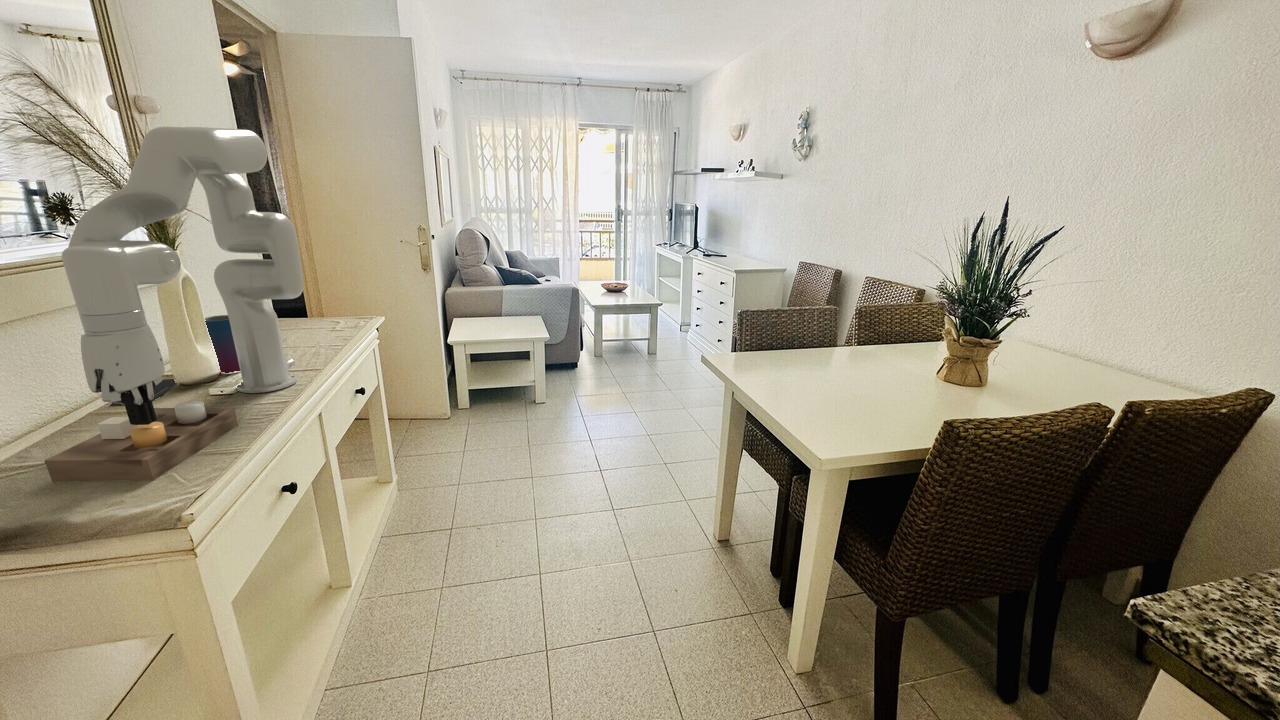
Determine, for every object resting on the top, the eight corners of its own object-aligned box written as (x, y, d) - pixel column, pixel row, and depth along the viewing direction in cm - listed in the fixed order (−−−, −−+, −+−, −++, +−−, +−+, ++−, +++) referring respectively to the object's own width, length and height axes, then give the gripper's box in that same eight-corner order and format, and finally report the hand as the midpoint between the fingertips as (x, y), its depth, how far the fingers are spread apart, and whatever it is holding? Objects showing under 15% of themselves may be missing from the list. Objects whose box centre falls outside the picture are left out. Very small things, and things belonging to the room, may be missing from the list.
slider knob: (116, 431, 96) (112, 417, 95) (137, 431, 96) (133, 416, 95) (102, 439, 93) (97, 423, 92) (123, 438, 93) (118, 423, 92)
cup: (243, 366, 144) (231, 313, 139) (250, 371, 140) (238, 317, 135) (212, 371, 139) (199, 317, 134) (219, 377, 135) (206, 322, 130)
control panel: (157, 425, 108) (152, 407, 106) (238, 425, 109) (234, 407, 108) (52, 481, 87) (44, 460, 86) (153, 480, 88) (147, 458, 87)
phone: (108, 402, 116) (148, 380, 130) (110, 407, 117) (149, 384, 130) (151, 399, 118) (185, 378, 132) (152, 404, 119) (186, 382, 132)
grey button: (189, 414, 104) (185, 400, 103) (212, 414, 104) (208, 400, 103) (171, 423, 99) (167, 409, 99) (196, 423, 100) (192, 409, 99)
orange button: (147, 436, 94) (143, 421, 93) (173, 436, 95) (169, 421, 94) (127, 448, 90) (122, 432, 89) (154, 447, 90) (149, 432, 89)
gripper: (129, 311, 92) (155, 406, 98) (44, 332, 78) (80, 442, 83) (174, 312, 93) (198, 406, 98) (97, 333, 79) (130, 441, 84)
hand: (144, 422), depth 91 cm, fingers closed
